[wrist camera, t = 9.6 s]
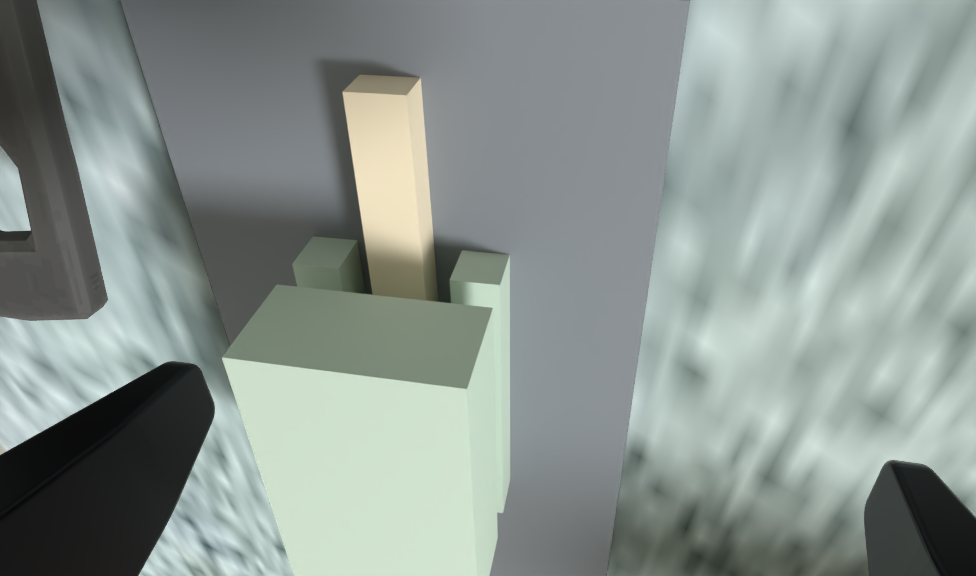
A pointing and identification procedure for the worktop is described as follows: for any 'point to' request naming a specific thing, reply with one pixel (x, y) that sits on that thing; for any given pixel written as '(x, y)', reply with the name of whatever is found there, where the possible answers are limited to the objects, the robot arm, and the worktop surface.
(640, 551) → the worktop surface
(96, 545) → the robot arm
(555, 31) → the cleat board
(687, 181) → the worktop surface
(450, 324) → the cabinet block
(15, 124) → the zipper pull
